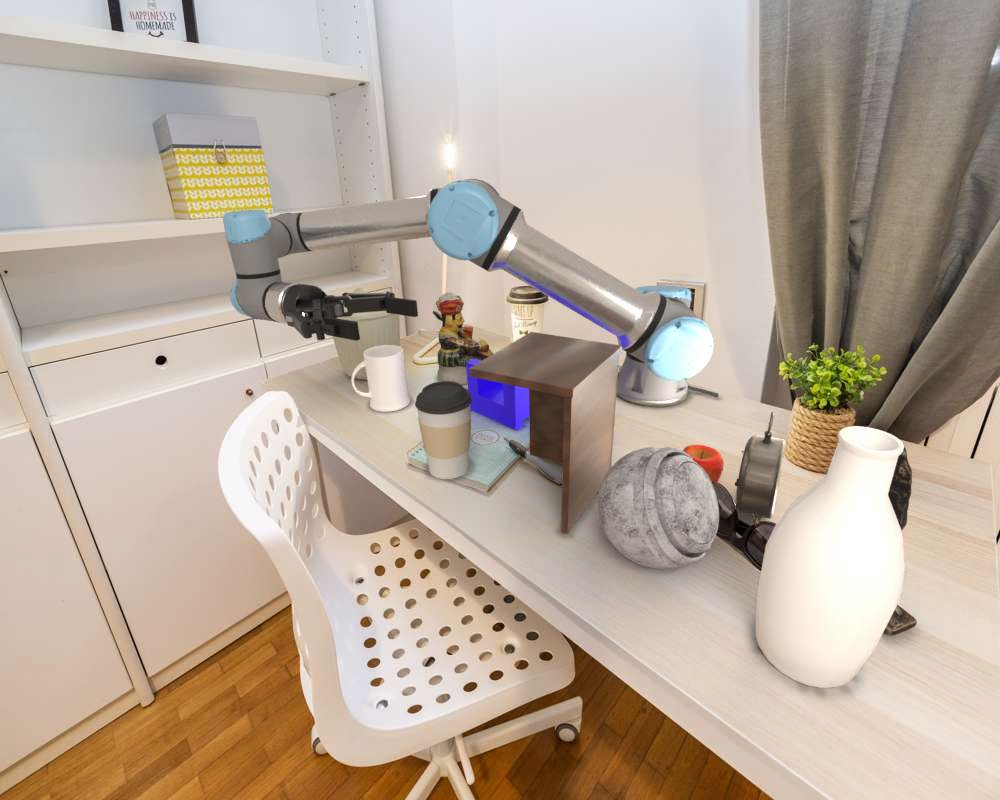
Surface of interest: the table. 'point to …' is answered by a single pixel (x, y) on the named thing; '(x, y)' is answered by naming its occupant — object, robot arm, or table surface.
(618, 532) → the decorative orb
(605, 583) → the table surface
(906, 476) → the statue
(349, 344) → the canister
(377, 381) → the mug
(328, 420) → the table surface
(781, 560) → the bottle
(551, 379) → the cubby
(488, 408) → the blue hollow box
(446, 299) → the figurine
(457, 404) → the coffee cup
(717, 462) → the apple
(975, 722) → the table surface
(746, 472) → the alarm clock
